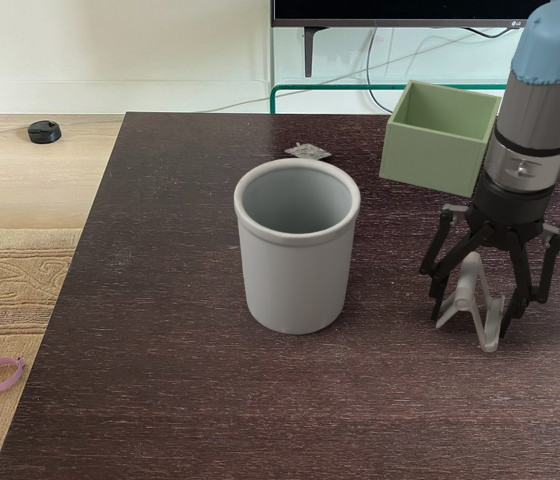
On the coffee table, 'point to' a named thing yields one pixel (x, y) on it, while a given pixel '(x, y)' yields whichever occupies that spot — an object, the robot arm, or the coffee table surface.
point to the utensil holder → (296, 242)
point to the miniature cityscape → (311, 153)
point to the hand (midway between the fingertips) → (468, 322)
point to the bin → (438, 137)
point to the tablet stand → (466, 302)
